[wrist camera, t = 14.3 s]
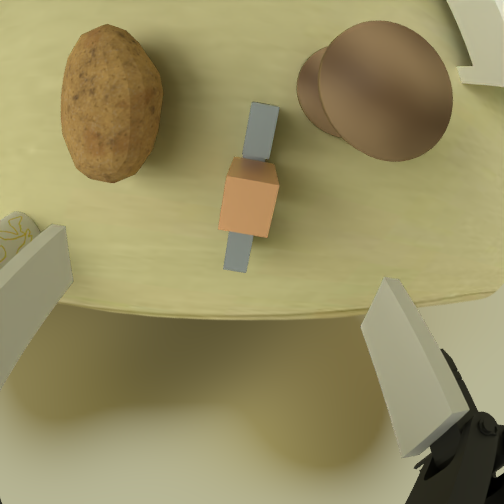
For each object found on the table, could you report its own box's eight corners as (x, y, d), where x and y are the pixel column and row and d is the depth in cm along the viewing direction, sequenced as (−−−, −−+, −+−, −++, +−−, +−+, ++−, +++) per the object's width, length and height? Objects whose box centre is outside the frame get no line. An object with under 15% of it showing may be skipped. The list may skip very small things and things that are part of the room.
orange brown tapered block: (234, 156, 26) (226, 175, 20) (274, 163, 26) (279, 185, 20) (227, 198, 28) (218, 229, 22) (265, 204, 28) (267, 237, 22)
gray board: (253, 101, 25) (251, 102, 20) (275, 105, 25) (279, 107, 20) (229, 238, 32) (223, 269, 26) (248, 241, 32) (245, 272, 27)
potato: (171, 23, 21) (142, 1, 14) (182, 162, 28) (156, 185, 21) (82, 47, 22) (35, 41, 14) (95, 173, 28) (53, 198, 21)
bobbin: (306, 35, 22) (335, 0, 12) (396, 64, 22) (461, 56, 13) (288, 124, 26) (306, 140, 16) (377, 147, 27) (434, 177, 17)
